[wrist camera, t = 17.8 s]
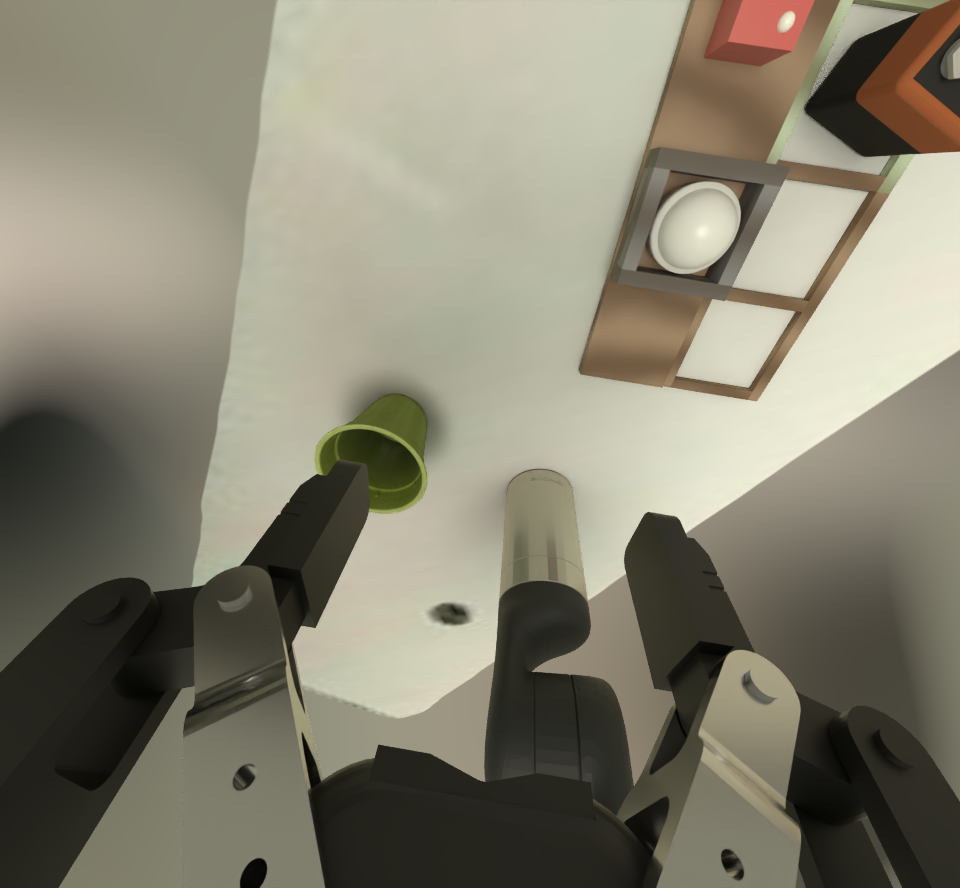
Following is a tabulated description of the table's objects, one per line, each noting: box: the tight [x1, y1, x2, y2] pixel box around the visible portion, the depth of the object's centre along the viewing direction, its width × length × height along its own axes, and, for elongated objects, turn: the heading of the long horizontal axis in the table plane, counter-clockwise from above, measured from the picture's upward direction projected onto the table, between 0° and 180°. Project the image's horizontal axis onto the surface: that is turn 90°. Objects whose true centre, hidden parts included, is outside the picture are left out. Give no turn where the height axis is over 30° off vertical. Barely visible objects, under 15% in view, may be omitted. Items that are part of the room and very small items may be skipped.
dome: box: [646, 181, 741, 274], centre depth 30 cm, size 6×6×6 cm
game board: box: [579, 0, 950, 401], centre depth 31 cm, size 30×20×4 cm, turn 173°
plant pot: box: [315, 394, 427, 514], centre depth 44 cm, size 12×12×11 cm
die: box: [704, 0, 815, 66], centre depth 23 cm, size 4×4×4 cm
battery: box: [806, 0, 960, 157], centre depth 24 cm, size 4×7×10 cm, turn 64°
